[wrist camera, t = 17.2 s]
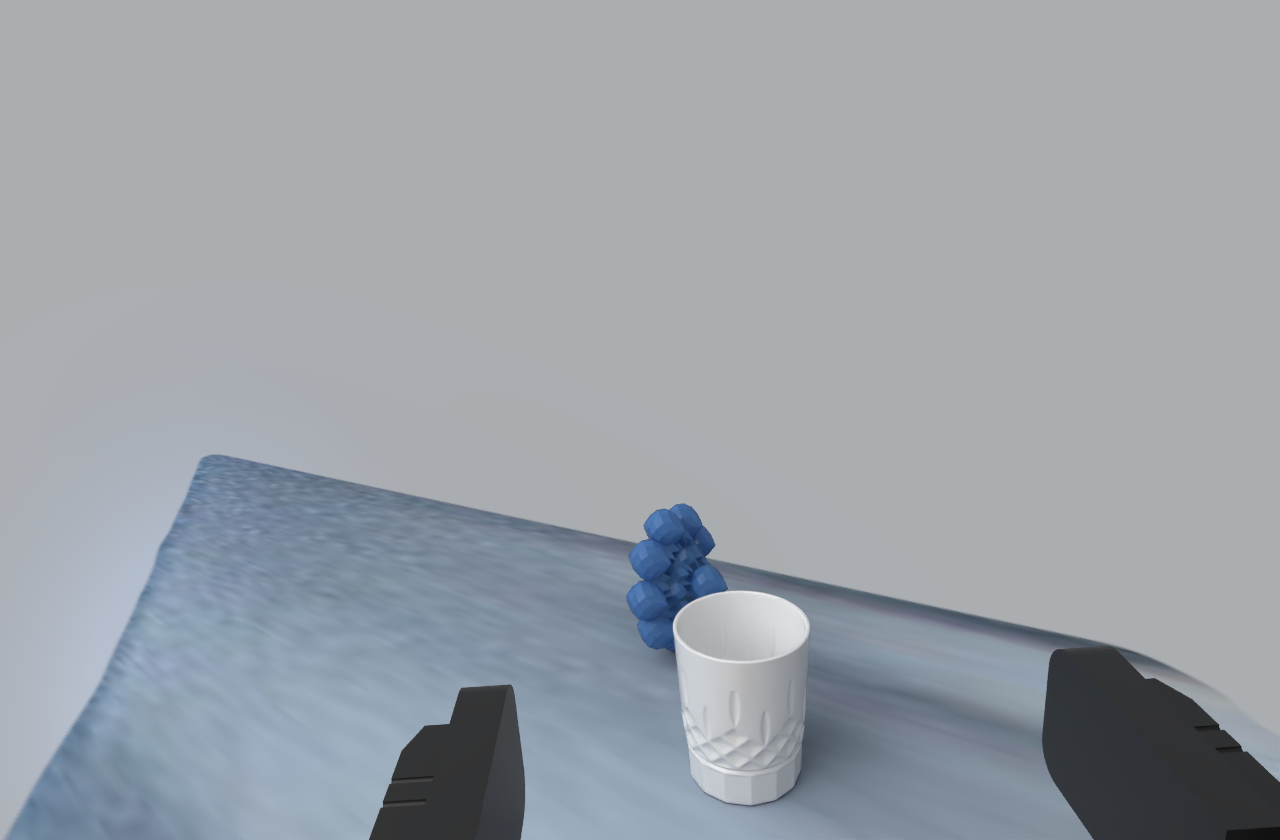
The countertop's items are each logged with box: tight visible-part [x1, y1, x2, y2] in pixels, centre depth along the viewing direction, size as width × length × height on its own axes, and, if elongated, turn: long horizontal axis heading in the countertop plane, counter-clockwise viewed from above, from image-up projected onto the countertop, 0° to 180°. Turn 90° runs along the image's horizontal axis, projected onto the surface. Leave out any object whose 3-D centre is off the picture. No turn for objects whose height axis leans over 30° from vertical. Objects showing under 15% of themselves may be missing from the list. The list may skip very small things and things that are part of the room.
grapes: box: [626, 504, 728, 651], centre depth 63 cm, size 12×7×12 cm, turn 152°
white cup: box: [673, 591, 810, 806], centre depth 50 cm, size 8×8×10 cm
